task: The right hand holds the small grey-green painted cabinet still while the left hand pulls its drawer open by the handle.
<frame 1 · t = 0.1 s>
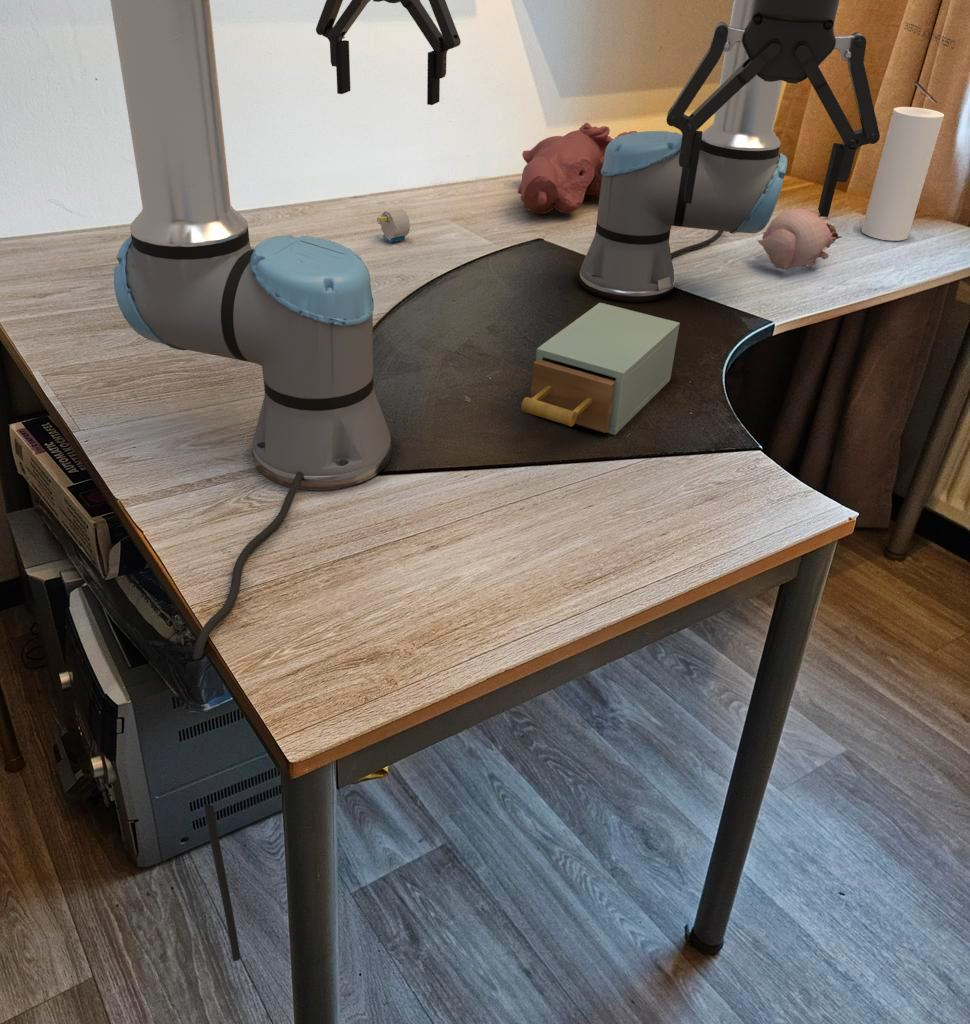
left hand: (388, 98, 135), 28 cm above the table, tool pointing down, fingers open, 13 cm apart
right hand: (754, 206, 98), 28 cm above the table, tool pointing down, fingers open, 13 cm apart
red pig figurine: (573, 204, 192), on the table
tall white tube: (880, 233, 185), on the table
drawer: (588, 381, 117), point 4 cm above the table, slide at 0.6 cm
cabinet: (603, 394, 123), on the table
toy 2: (790, 266, 167), on the table
electric motor: (391, 241, 169), on the table
ceramic shard: (215, 300, 144), on the table
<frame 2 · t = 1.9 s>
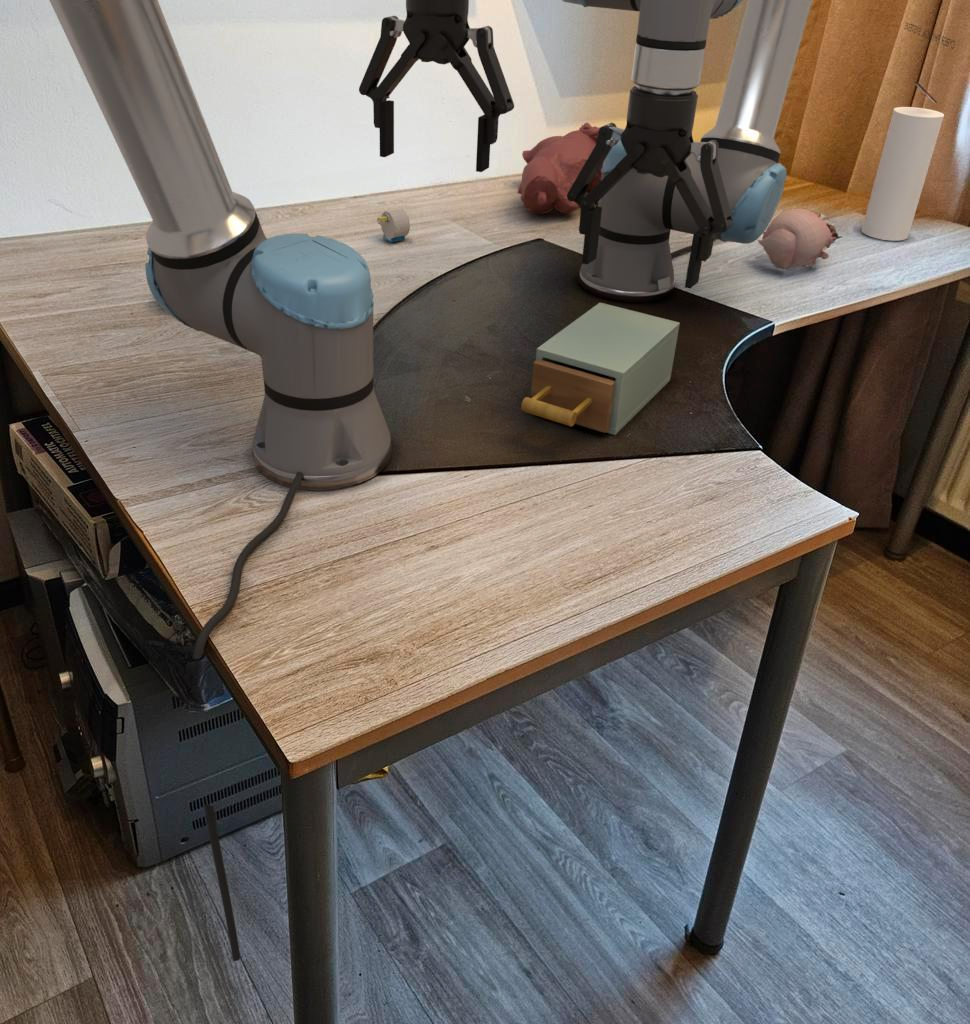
left hand: (434, 162, 125), 23 cm above the table, tool pointing down, fingers open, 13 cm apart
right hand: (639, 273, 118), 15 cm above the table, tool pointing down, fingers open, 13 cm apart
nothing on the table moved.
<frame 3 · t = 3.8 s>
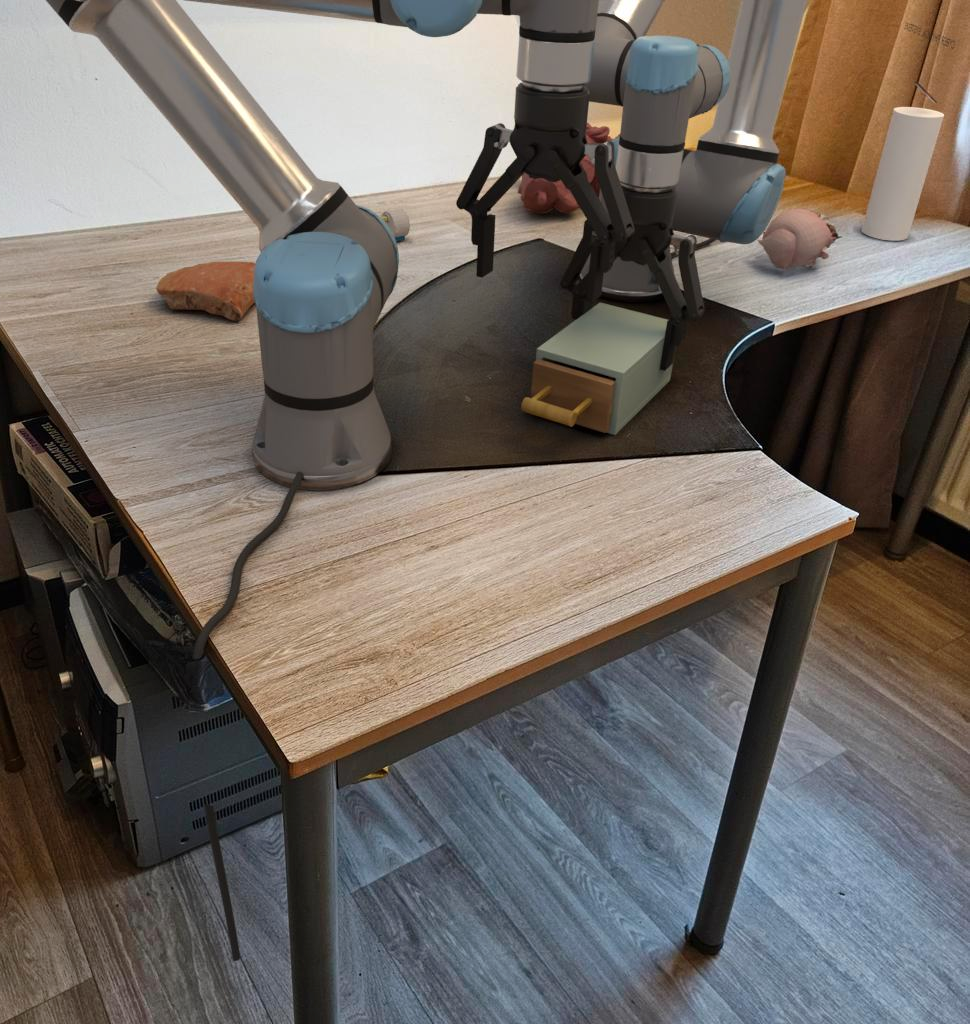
left hand: (537, 286, 109), 16 cm above the table, tool pointing down, fingers open, 13 cm apart
right hand: (622, 354, 125), 4 cm above the table, tool pointing down, fingers closed on cabinet, 11 cm apart
cabinet: (603, 394, 123), on the table, touching right hand
everything else where it was.
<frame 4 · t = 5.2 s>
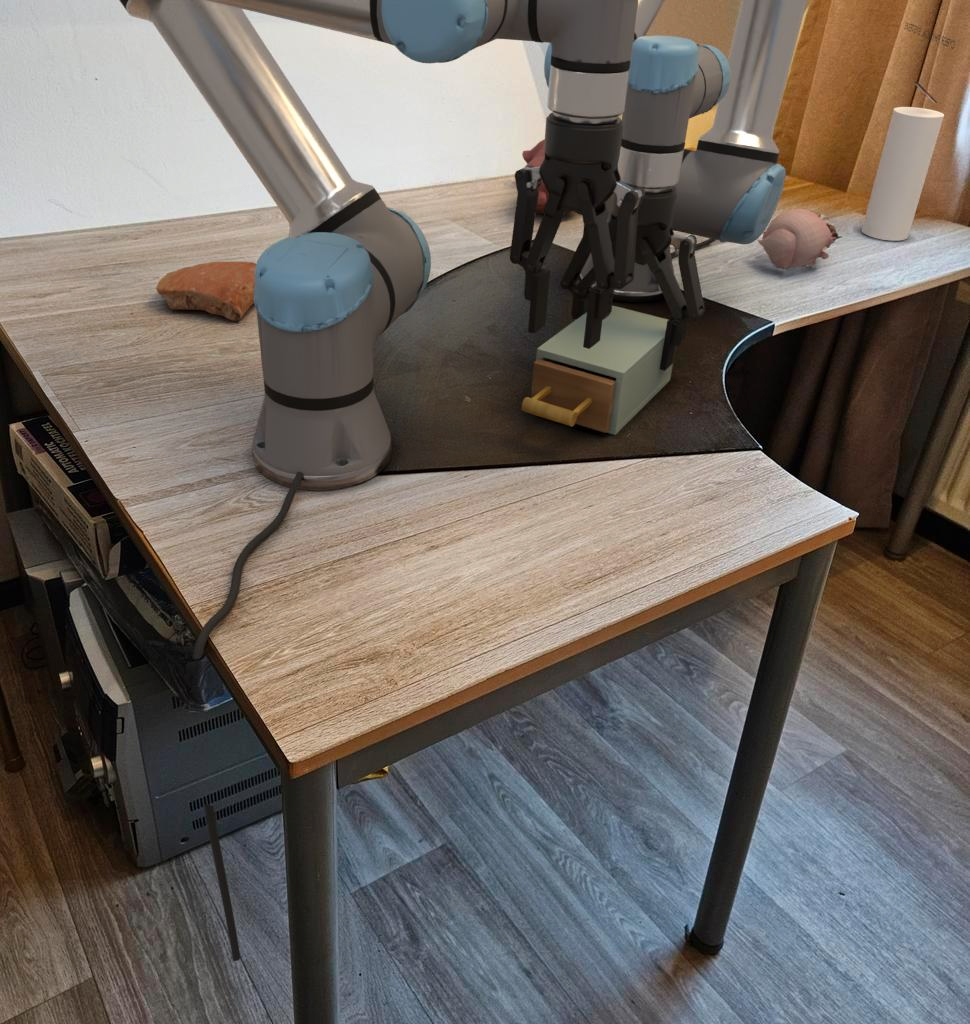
left hand: (563, 335, 106), 13 cm above the table, tool pointing down, fingers open, 6 cm apart
right hand: (623, 354, 125), 4 cm above the table, tool pointing down, fingers closed on cabinet, 11 cm apart
cabinet: (603, 394, 124), on the table, touching right hand
everything else where it was.
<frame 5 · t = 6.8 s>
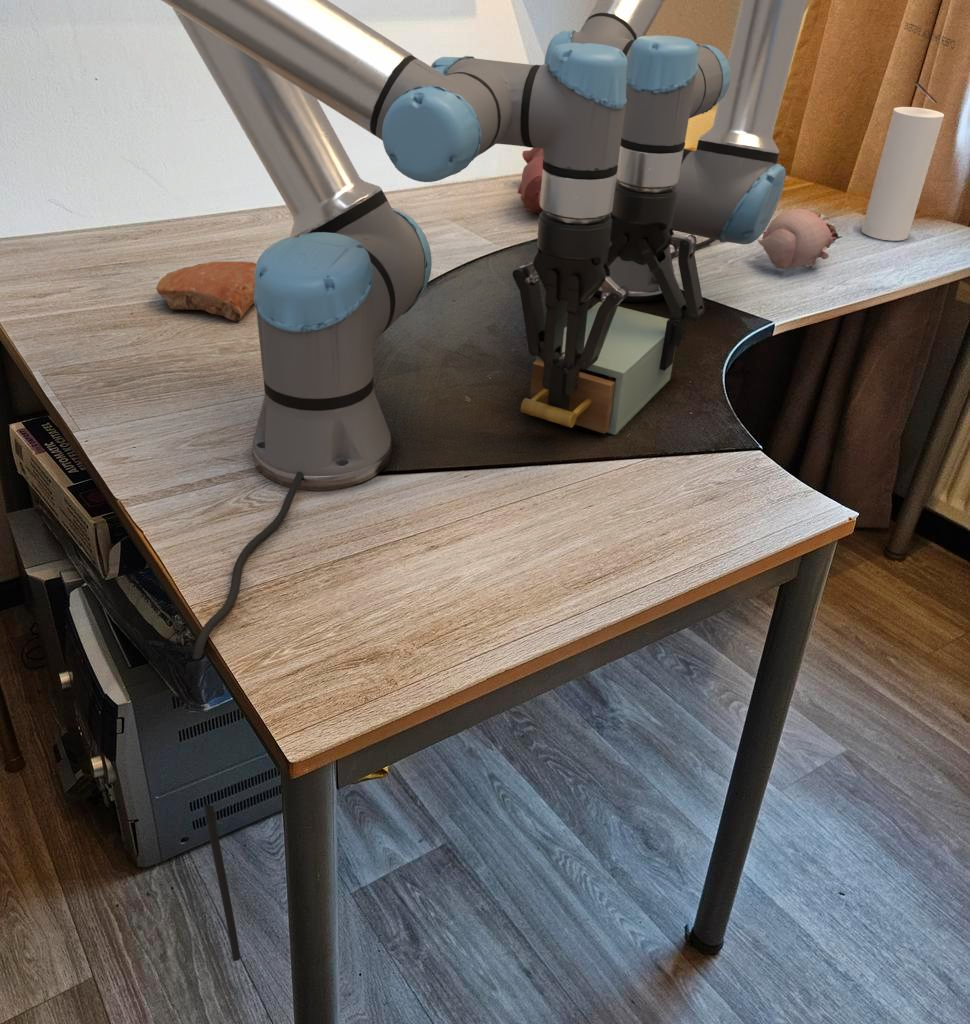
left hand: (557, 415, 112), 3 cm above the table, tool pointing down, fingers closed
right hand: (622, 354, 125), 4 cm above the table, tool pointing down, fingers closed on cabinet, 11 cm apart
drawer: (587, 381, 117), point 4 cm above the table, slide at 0.8 cm, touching left hand
cabinet: (603, 394, 123), on the table, touching right hand
everything else where it was.
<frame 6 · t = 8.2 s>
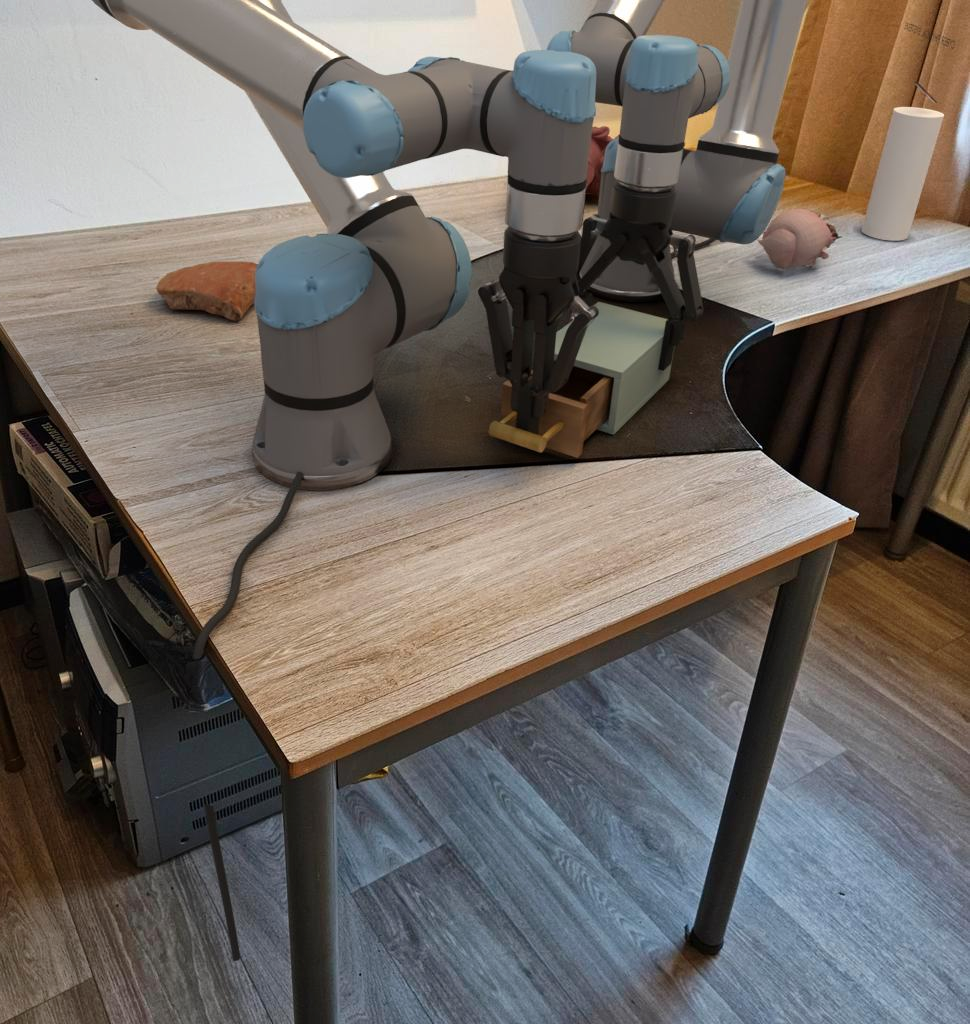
left hand: (526, 438, 107), 3 cm above the table, tool pointing down, fingers closed
right hand: (621, 354, 125), 4 cm above the table, tool pointing down, fingers closed on cabinet, 11 cm apart
drawer: (561, 402, 112), point 4 cm above the table, slide at 7.6 cm, touching left hand
cabinet: (602, 393, 123), on the table, touching right hand
everything else where it was.
when the right hand's fingers open (4 cm above the table, at t = 9.9 s): cabinet stays where it is, on the table.
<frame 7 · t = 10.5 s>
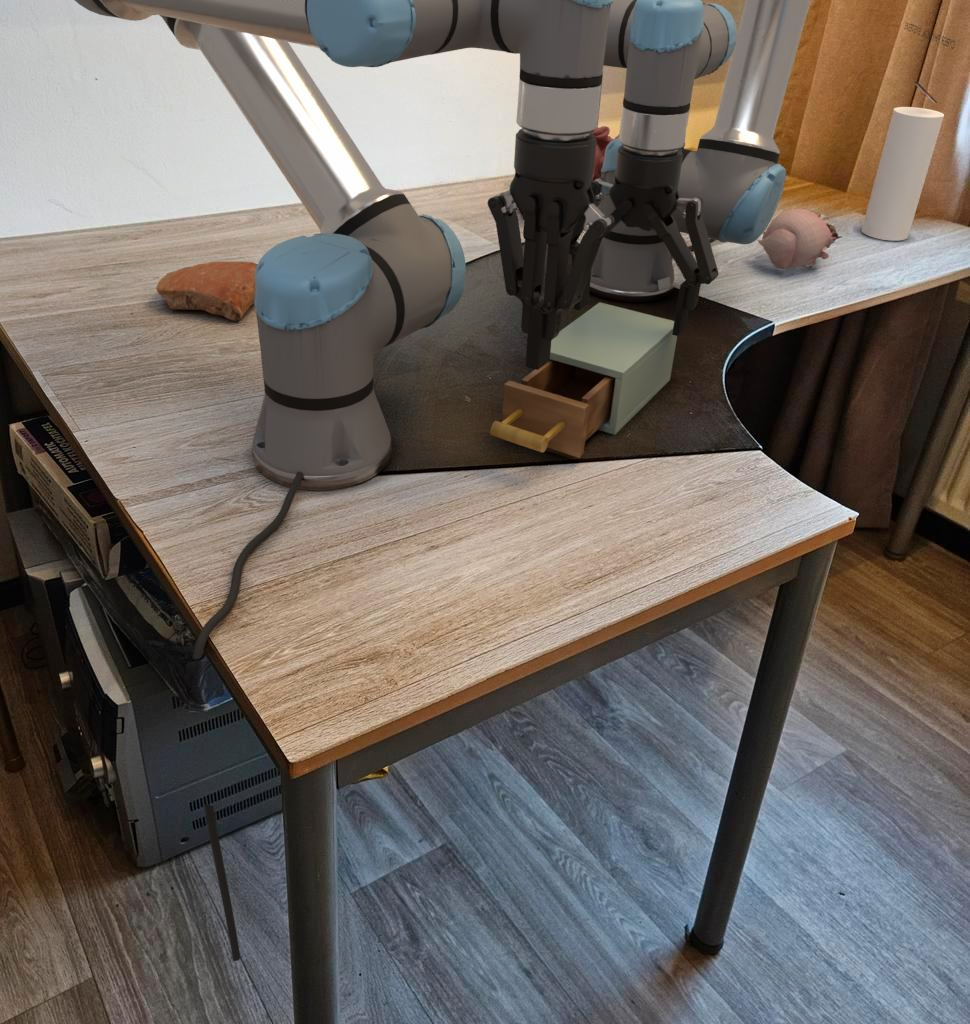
left hand: (537, 363, 102), 12 cm above the table, tool pointing down, fingers closed
right hand: (628, 319, 123), 8 cm above the table, tool pointing down, fingers open, 13 cm apart
drawer: (562, 403, 112), point 4 cm above the table, slide at 7.6 cm
cabinet: (603, 394, 124), on the table
everything else where it was.
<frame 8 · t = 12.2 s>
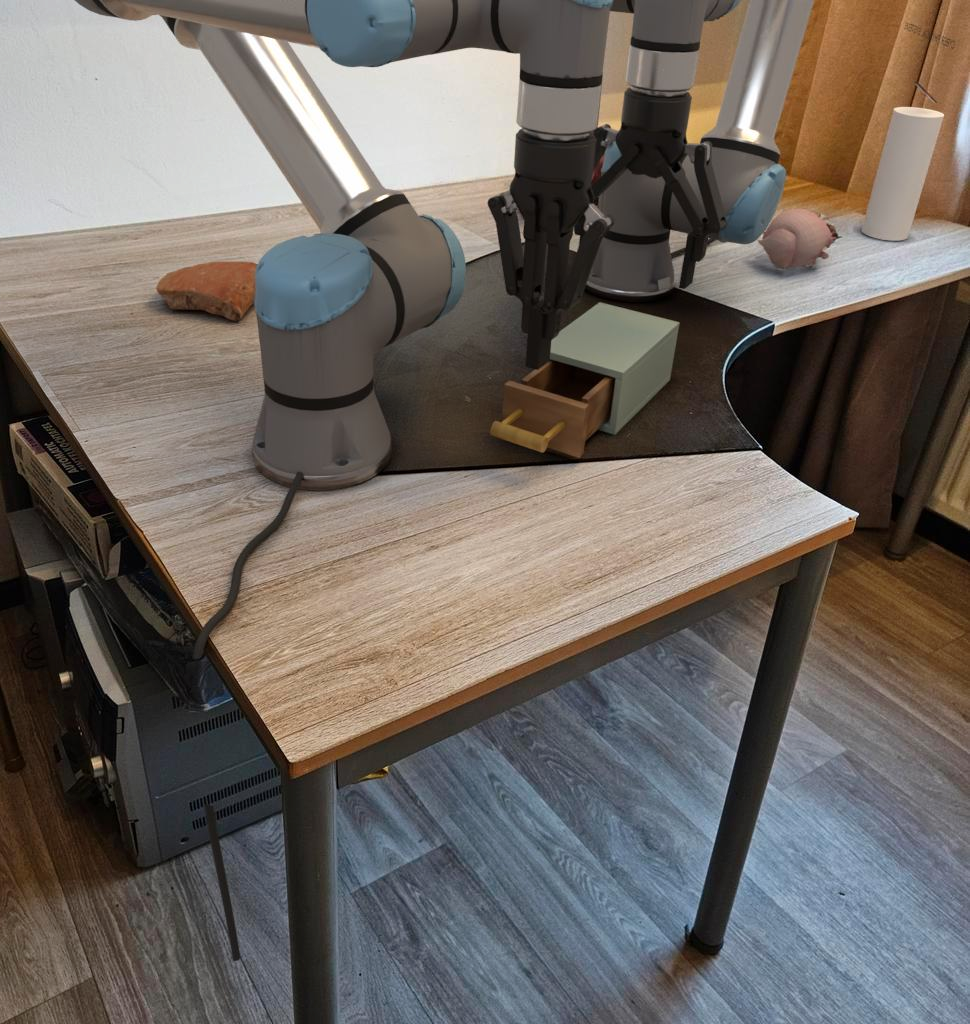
left hand: (537, 363, 102), 12 cm above the table, tool pointing down, fingers closed
right hand: (633, 273, 119), 15 cm above the table, tool pointing down, fingers open, 13 cm apart
nothing on the table moved.
at the end: drawer slide at 7.6 cm; cabinet tilted 0°; cabinet never tilted more than 1° during the clip; cabinet moved 0.1 cm from its start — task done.
